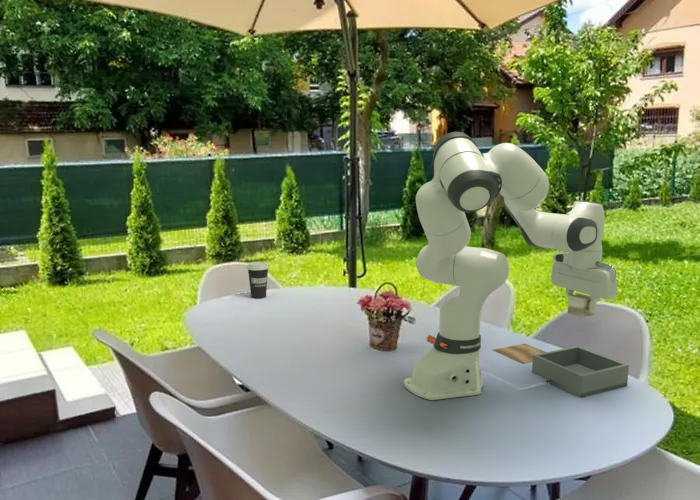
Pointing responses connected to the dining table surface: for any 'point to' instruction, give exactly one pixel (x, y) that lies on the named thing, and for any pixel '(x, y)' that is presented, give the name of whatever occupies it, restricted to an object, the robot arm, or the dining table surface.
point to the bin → (580, 371)
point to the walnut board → (520, 352)
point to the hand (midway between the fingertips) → (581, 307)
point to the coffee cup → (258, 279)
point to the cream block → (579, 305)
